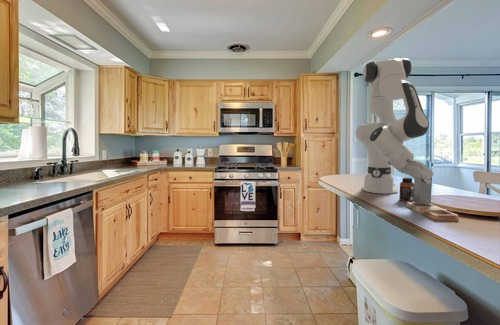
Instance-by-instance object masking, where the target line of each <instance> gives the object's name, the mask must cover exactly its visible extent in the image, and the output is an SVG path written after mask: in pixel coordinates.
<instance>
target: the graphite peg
mask: <svg viewBox="0 0 500 325" xmlns="http://www.w3.org/2000/svg"><path fill="white" fill-rule="evenodd" d="M413 179H414V182H413V183H414V199H413V202H415V203H418V204H432V187H433V176H432V177H431V178H430V180H431V183H429V184H427V183H425V182H424V180H423V179H422V178H418V177H415V178H413Z"/></svg>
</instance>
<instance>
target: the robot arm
mask: <svg viewBox="0 0 500 325" xmlns="http://www.w3.org/2000/svg"><path fill="white" fill-rule="evenodd" d="M412 71H413V70H412V61H411V60H410V59H409V58H403V57H402V58H388V59H383V60H376V61H370V62H368V63H366V64H365V66H364V68H363V70H362V77H363V80H364V81H365V82H366V83H368V84H372V86H371V91H370V105H369V106H370V108H369V110H370V113H371V114H372V115H374V116H375V117H378V119H379V122H368V123H362V124H359V126H358V127H357V128H356V131H355V137H356V139H357V140H358V141H359V142H360V143H362V144H363V146H365V148H366V151H367V154H368V155H367V158H368V165H367V173H366V174H365V175H364V179H363V180H364V182H363V183H364V184H363V186H362V187H361V188H360V189H361V190H362V191H365V192H367V193H373V194H381V195H382V194H398V187H397V186H396V185H395V184H394V177H393V176H392V167H393V168H395V170H396V171H398V172H399V173H401V174H404V175H408V176H410V177H411V178H412V179H414V178H415V177H418V178H422V179H423V180H424V182H425V183H427V184H429V183H431V180H430V178H431V177H432V178H433V176H434V171H433V170H432V169H430V168H429V167H428V166H427V165H426V164H424V163H423V162H422V161H420V160H417V159H416V160H415V159H414V158H415V154H414V153H413V152H411V151H410V149H409V148H408V147H406V146H405V145H404V142H407V141H409V140H412V139H415V138H420V137H422V136H425V135H426V134H427V132H428V130H429V127H430V121H429V119H428V118H427V115H426V113H424V109H423V107H422V103H421V100H420V97H419V94H418V93H417V89H416V87H415V85H414V84H413V83H412V82H409V81H407V78H409V76H410V75H411V73H412ZM398 100H403V101H402V102H403V105H404V106H405V110H406V112H405V115H403V117H401V118H399V119H397V117H396V115H395V112H394V101H398ZM391 166H392V167H391Z"/></svg>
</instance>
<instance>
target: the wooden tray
mask: <svg viewBox="0 0 500 325" xmlns="http://www.w3.org/2000/svg"><path fill="white" fill-rule="evenodd" d="M406 208H409V209H411V210H413V211H415V212H416V213H419V214H421V215H423V216H425V217H426V218H429V219H432V220H433V221H440V222H441V221H443V222H444V221H446V222H447V221H448V222H449V221H452V222H455V221H456V222H457V221H459V217H460V216H459V215H458V214H457V213H454V212H452V211H449V210H446V209H444V208H442V207H439V206H437V205H435V204H432V203H431V204H418V203H415V202H406Z"/></svg>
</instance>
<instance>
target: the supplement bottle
mask: <svg viewBox="0 0 500 325" xmlns="http://www.w3.org/2000/svg"><path fill="white" fill-rule="evenodd" d="M401 180H402V181H401V182H400V183H399V196H398V197H399V202H403V203H407V202H413V199H414V182H413V177H402V179H401Z"/></svg>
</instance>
